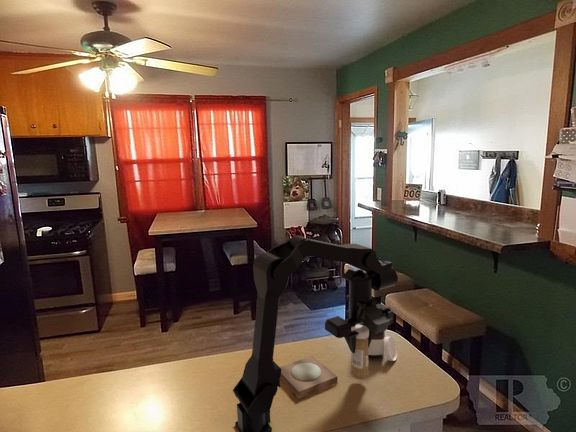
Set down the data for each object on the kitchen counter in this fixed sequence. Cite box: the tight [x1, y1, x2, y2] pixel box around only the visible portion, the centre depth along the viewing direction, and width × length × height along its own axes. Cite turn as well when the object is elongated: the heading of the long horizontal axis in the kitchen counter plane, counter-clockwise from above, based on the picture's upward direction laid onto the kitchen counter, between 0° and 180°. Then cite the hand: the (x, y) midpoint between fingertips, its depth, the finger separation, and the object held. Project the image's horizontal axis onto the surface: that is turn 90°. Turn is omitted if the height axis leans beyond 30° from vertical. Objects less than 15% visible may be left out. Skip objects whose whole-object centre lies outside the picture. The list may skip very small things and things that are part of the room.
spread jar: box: [358, 324, 398, 362], centre depth 112 cm, size 12×11×12 cm
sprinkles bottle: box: [350, 324, 369, 381], centre depth 98 cm, size 5×5×14 cm
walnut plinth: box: [279, 355, 338, 400], centre depth 102 cm, size 12×12×2 cm
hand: (359, 350), depth 98 cm, fingers closed on sprinkles bottle, 4 cm apart
